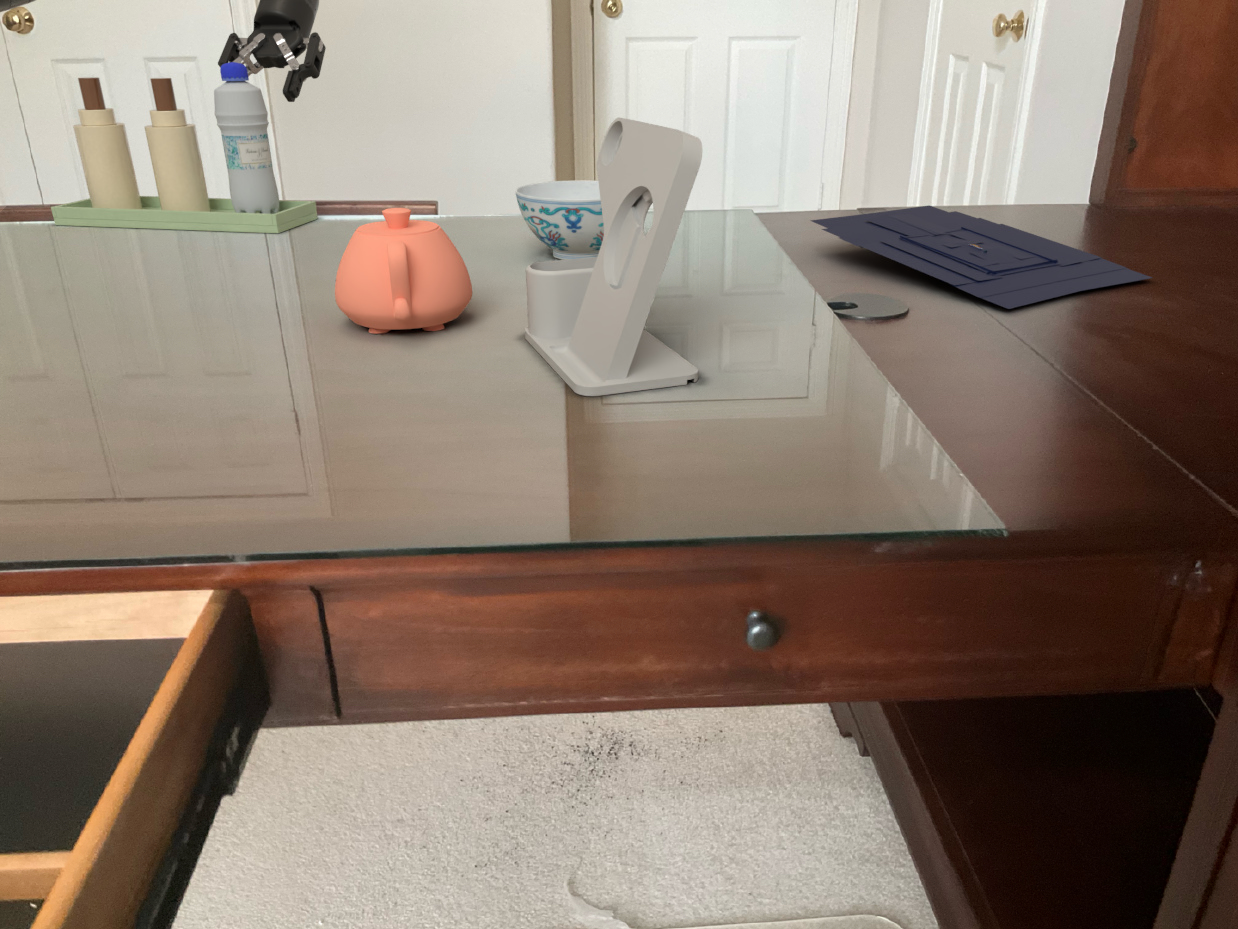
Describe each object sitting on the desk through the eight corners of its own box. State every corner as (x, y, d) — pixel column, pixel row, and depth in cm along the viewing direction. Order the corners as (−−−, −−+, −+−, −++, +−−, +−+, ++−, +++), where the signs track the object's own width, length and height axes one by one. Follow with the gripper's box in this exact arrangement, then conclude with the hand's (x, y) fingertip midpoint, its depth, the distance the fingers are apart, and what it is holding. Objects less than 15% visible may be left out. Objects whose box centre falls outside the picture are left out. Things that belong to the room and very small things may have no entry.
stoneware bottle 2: (154, 215, 132) (126, 78, 124) (197, 209, 136) (173, 76, 129) (175, 220, 128) (147, 79, 121) (219, 214, 133) (195, 77, 125)
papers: (934, 224, 122) (941, 197, 120) (1145, 301, 101) (1157, 269, 99) (793, 244, 111) (798, 214, 109) (998, 336, 89) (1009, 300, 87)
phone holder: (520, 333, 83) (510, 117, 75) (627, 322, 86) (627, 114, 78) (580, 397, 68) (575, 138, 60) (706, 381, 71) (716, 132, 63)
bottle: (247, 222, 126) (220, 62, 118) (223, 217, 130) (196, 61, 122) (292, 216, 131) (269, 61, 122) (268, 211, 135) (244, 61, 126)
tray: (55, 225, 131) (50, 206, 130) (108, 211, 141) (105, 194, 140) (278, 233, 125) (275, 214, 124) (318, 218, 135) (315, 201, 134)
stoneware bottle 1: (86, 212, 134) (54, 77, 126) (131, 207, 138) (102, 76, 131) (105, 217, 130) (73, 78, 122) (150, 211, 134) (122, 77, 127)
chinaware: (543, 274, 103) (540, 203, 100) (502, 248, 115) (499, 184, 112) (664, 262, 108) (665, 194, 105) (612, 238, 121) (612, 177, 118)
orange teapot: (472, 301, 92) (465, 196, 88) (477, 343, 80) (469, 222, 76) (345, 307, 91) (331, 199, 86) (330, 351, 78) (313, 227, 74)
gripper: (345, 27, 136) (318, 117, 131) (256, 28, 139) (226, 115, 133) (323, -15, 129) (294, 77, 124) (229, -14, 132) (197, 77, 126)
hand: (259, 97), depth 128 cm, fingers open, 8 cm apart
